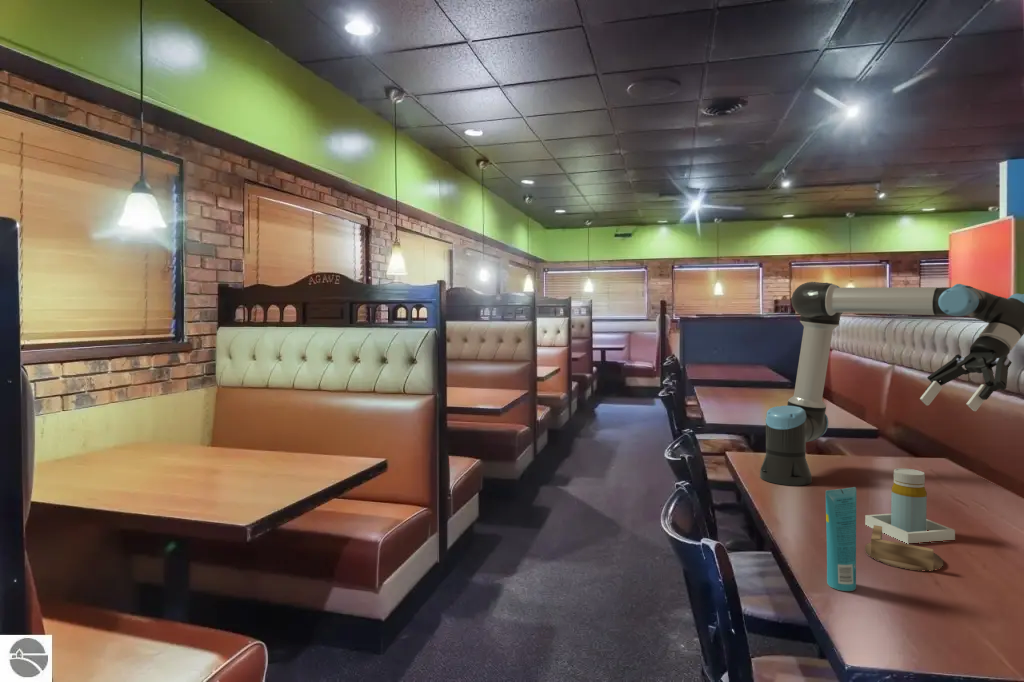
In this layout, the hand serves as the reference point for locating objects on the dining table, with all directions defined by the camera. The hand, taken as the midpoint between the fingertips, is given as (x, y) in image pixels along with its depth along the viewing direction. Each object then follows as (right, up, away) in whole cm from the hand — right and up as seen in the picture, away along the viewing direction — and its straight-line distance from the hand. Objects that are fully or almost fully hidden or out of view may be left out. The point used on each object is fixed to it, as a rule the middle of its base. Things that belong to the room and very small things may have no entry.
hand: (946, 404), depth 146 cm
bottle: (-17, -30, -9) cm, 36 cm away
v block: (-28, -31, -24) cm, 48 cm away
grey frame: (-17, -30, -9) cm, 36 cm away
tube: (-49, -32, -36) cm, 69 cm away
